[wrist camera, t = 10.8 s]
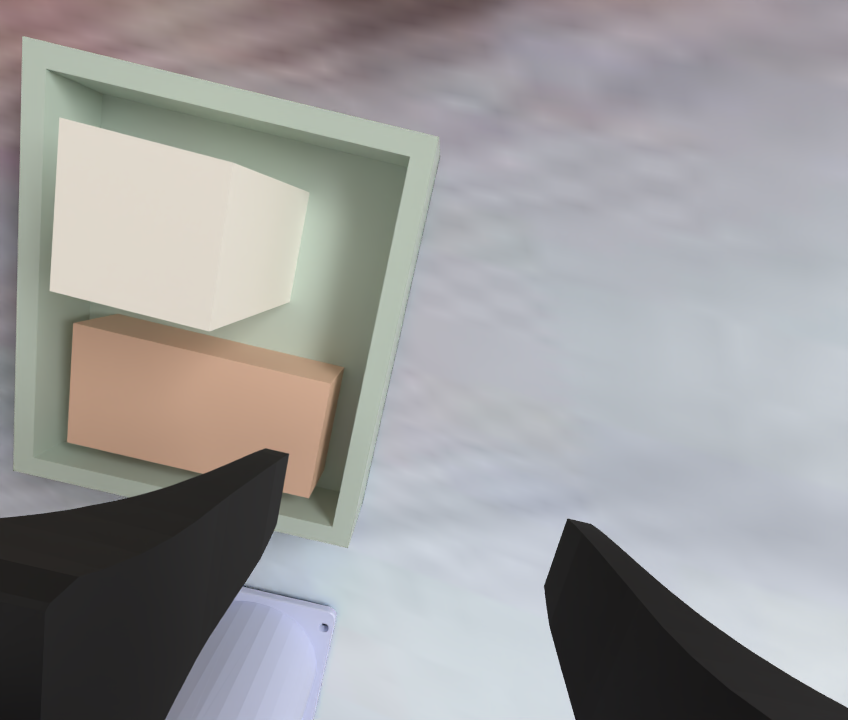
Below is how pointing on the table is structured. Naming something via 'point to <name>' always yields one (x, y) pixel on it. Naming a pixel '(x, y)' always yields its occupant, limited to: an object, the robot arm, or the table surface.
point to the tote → (273, 329)
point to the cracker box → (198, 399)
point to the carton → (170, 230)
